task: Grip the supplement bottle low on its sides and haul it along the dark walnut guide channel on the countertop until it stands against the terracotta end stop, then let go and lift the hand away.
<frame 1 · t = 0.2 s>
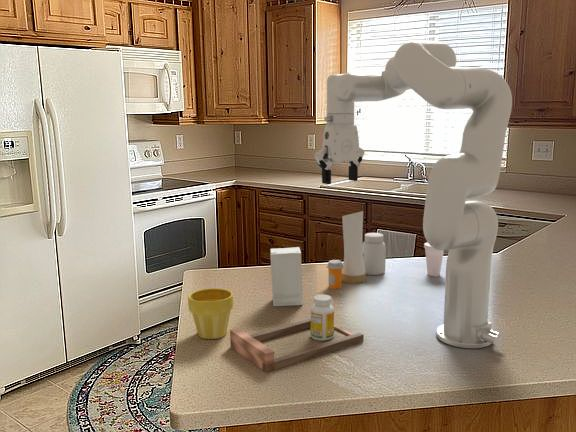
hand: (339, 182, 162), 31 cm above the countertop, tool pointing down, fingers open, 9 cm apart
toiletry set: (356, 279, 176), on the countertop
smoothie: (433, 275, 179), on the countertop
skincare box: (286, 303, 156), on the countertop
supplement bottle: (322, 337, 133), resting in guide
guide: (297, 344, 129), on the countertop
plant pot: (212, 334, 136), on the countertop
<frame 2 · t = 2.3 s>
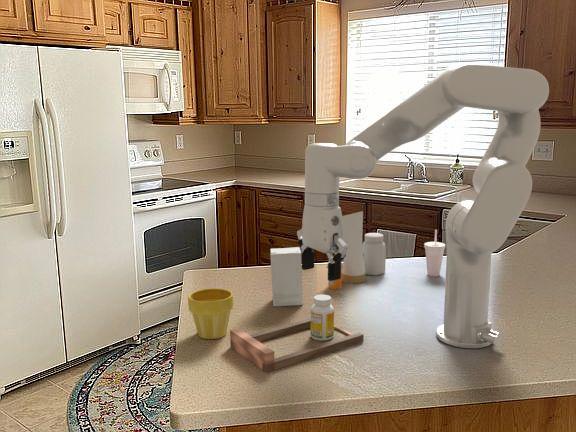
hand: (320, 274, 130), 15 cm above the countertop, tool pointing down, fingers open, 9 cm apart
nothing on the countertop moved.
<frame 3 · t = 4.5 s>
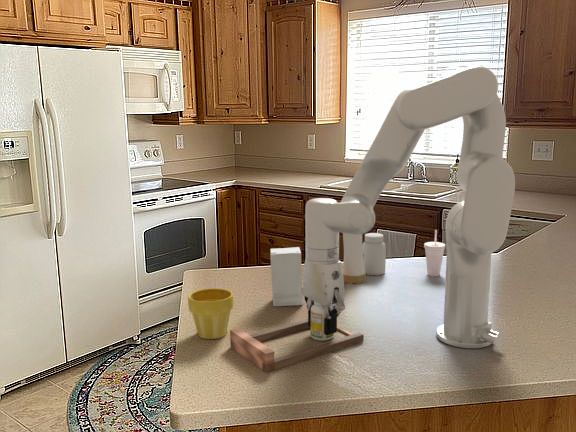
hand: (322, 328, 133), 2 cm above the countertop, tool pointing down, fingers closed on supplement bottle, 5 cm apart
supplement bottle: (322, 337, 133), resting in guide, touching gripper
everything else where it was.
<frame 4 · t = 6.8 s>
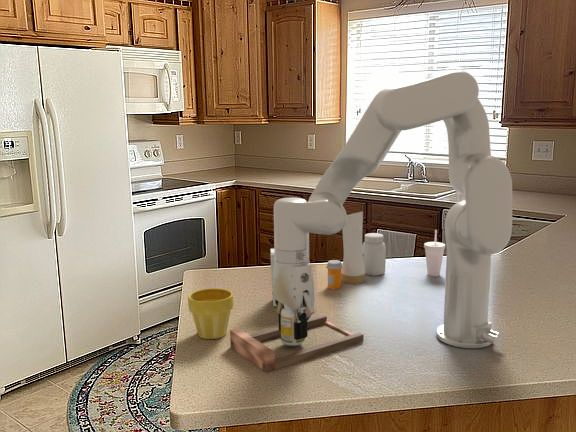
hand: (292, 332, 128), 3 cm above the countertop, tool pointing down, fingers closed on supplement bottle, 5 cm apart
supplement bottle: (293, 342, 129), point 1 cm above the countertop, touching gripper
everything else where it was.
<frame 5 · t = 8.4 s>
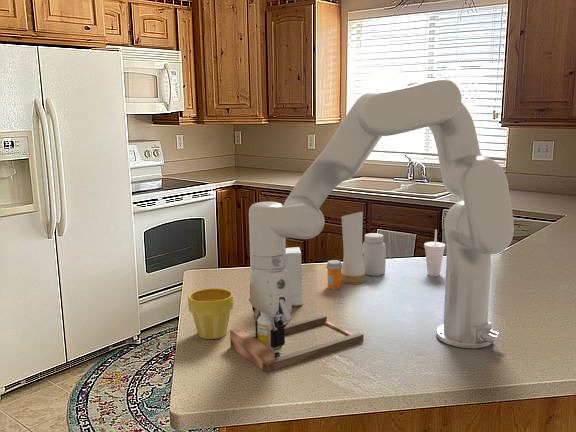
hand: (270, 340, 125), 3 cm above the countertop, tool pointing down, fingers closed on supplement bottle, 5 cm apart
supplement bottle: (270, 349, 125), point 1 cm above the countertop, touching gripper
everything else where it was.
when the fingers open (2 cm above the countertop, at t = 9.5 s): supplement bottle stays where it is, resting in guide.
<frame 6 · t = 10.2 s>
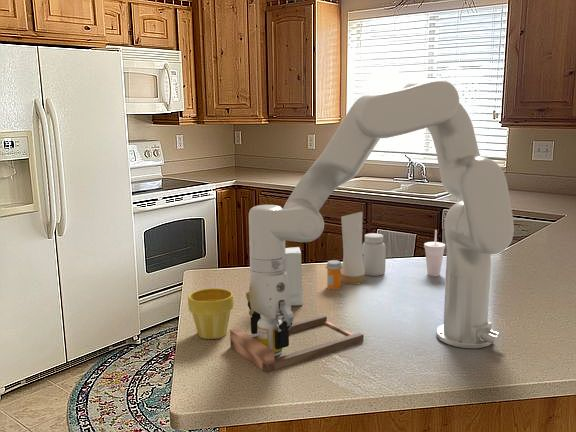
hand: (269, 339, 125), 3 cm above the countertop, tool pointing down, fingers open, 9 cm apart
supplement bottle: (270, 353, 125), resting in guide
everything else where it was.
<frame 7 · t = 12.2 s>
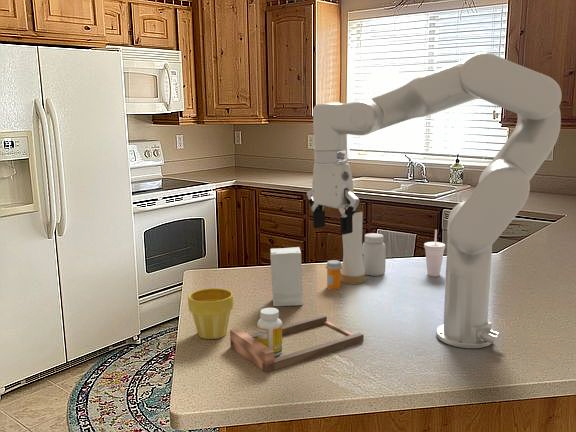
hand: (332, 230, 136), 24 cm above the countertop, tool pointing down, fingers open, 9 cm apart
nothing on the countertop moved.
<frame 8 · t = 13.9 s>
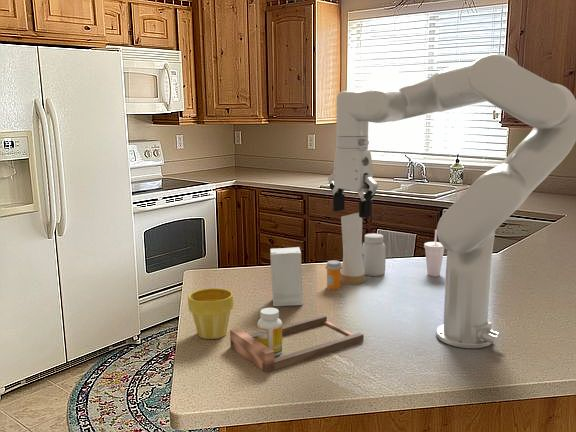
hand: (351, 213, 141), 26 cm above the countertop, tool pointing down, fingers open, 9 cm apart
nothing on the countertop moved.
at the end: supplement bottle inside the target area (0.4 cm from its centre), resting in guide; supplement bottle tilted 0°; the gripper is holding nothing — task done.
